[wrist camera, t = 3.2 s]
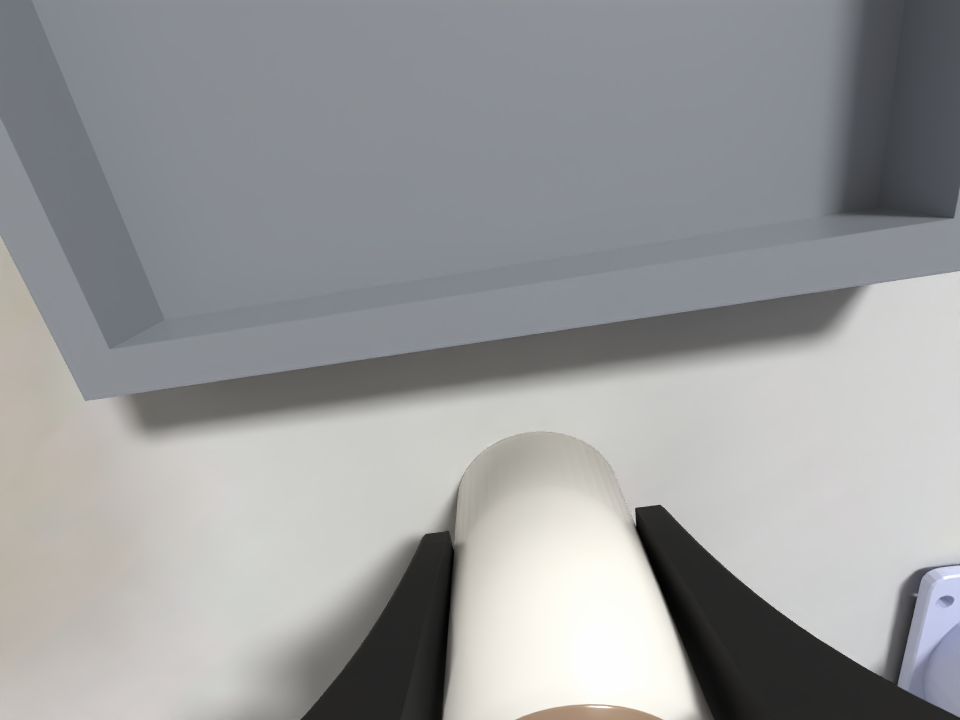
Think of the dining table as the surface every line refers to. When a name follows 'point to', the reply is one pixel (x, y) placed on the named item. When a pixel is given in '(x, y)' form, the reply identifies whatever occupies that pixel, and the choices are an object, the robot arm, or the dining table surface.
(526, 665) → the cup
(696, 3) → the tray
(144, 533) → the dining table surface
